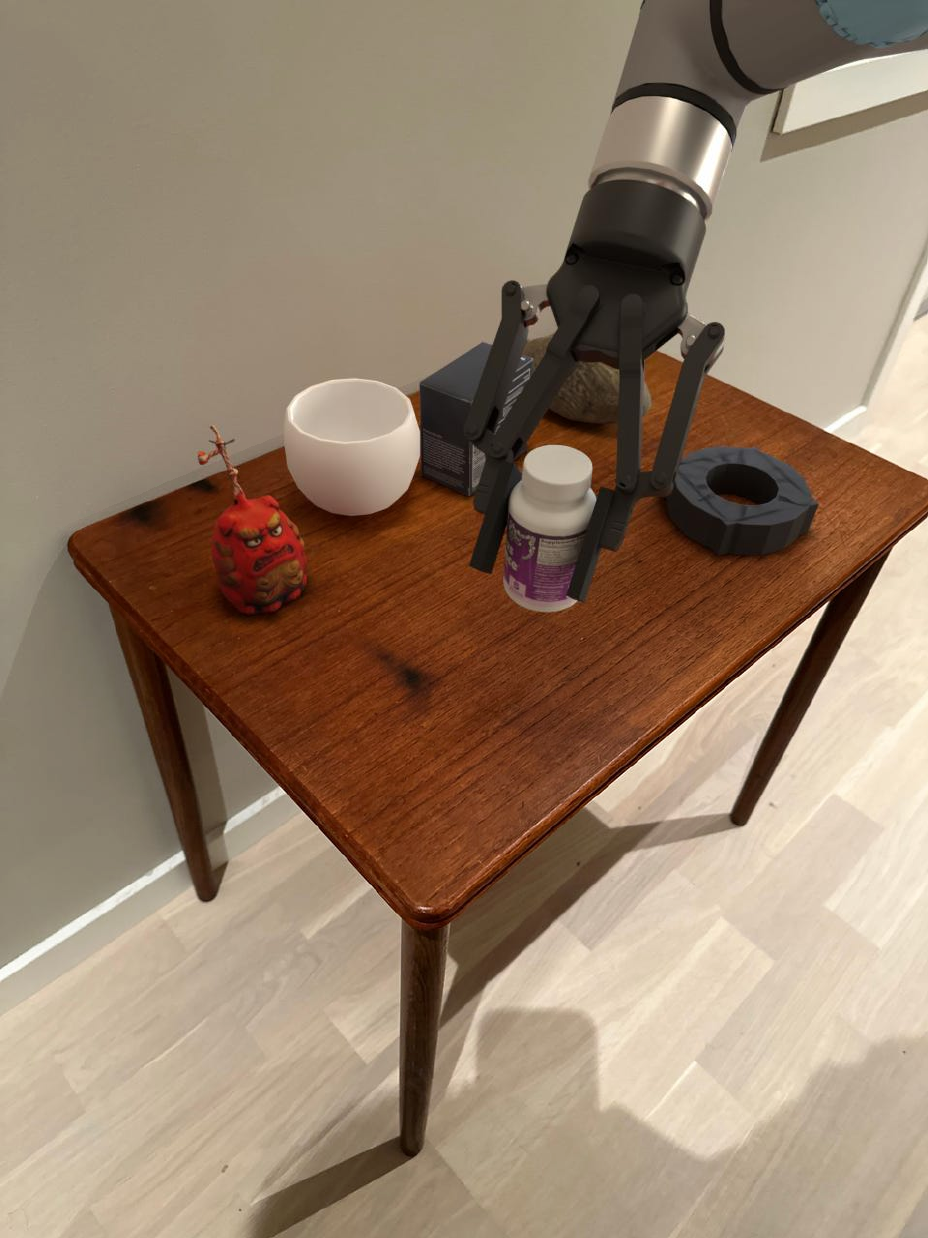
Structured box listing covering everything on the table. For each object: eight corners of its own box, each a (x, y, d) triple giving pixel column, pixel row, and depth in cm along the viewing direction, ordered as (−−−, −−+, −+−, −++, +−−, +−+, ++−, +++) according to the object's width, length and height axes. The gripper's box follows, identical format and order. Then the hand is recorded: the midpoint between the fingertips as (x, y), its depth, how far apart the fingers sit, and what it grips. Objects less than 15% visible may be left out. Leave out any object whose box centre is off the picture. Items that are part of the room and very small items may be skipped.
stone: (665, 419, 95) (680, 352, 90) (624, 453, 90) (637, 384, 85) (539, 369, 103) (545, 304, 97) (494, 398, 98) (498, 331, 92)
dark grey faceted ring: (827, 538, 81) (839, 508, 79) (713, 567, 78) (722, 537, 75) (749, 466, 89) (758, 437, 87) (643, 489, 86) (649, 459, 83)
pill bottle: (492, 567, 58) (499, 442, 51) (567, 555, 59) (584, 432, 52) (516, 622, 54) (528, 495, 47) (596, 609, 55) (618, 483, 48)
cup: (439, 521, 81) (440, 431, 74) (311, 551, 78) (300, 459, 71) (395, 452, 89) (392, 365, 83) (277, 476, 86) (264, 387, 79)
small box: (477, 429, 93) (482, 337, 86) (528, 451, 90) (537, 357, 83) (416, 474, 87) (415, 379, 79) (469, 498, 84) (473, 402, 77)
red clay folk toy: (253, 632, 70) (223, 478, 60) (201, 591, 73) (164, 438, 63) (325, 587, 74) (309, 436, 64) (273, 550, 77) (249, 400, 67)
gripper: (797, 266, 52) (680, 633, 53) (513, 214, 57) (408, 550, 58) (813, 200, 45) (677, 626, 46) (487, 147, 50) (366, 533, 50)
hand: (527, 583), depth 52 cm, fingers closed on pill bottle, 5 cm apart
